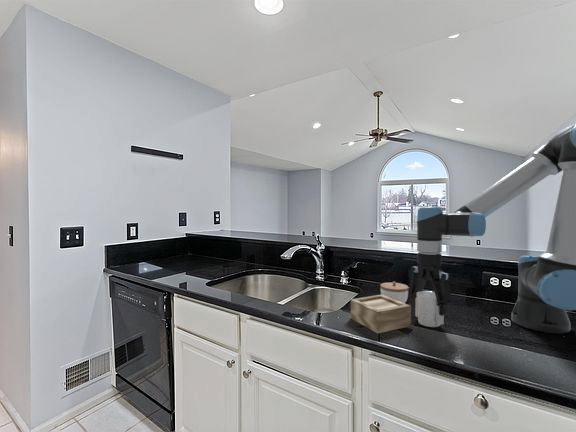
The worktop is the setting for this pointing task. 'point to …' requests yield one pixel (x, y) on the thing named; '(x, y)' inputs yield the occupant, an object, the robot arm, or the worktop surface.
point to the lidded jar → (395, 291)
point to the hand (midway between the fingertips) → (429, 319)
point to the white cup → (426, 308)
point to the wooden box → (380, 313)
